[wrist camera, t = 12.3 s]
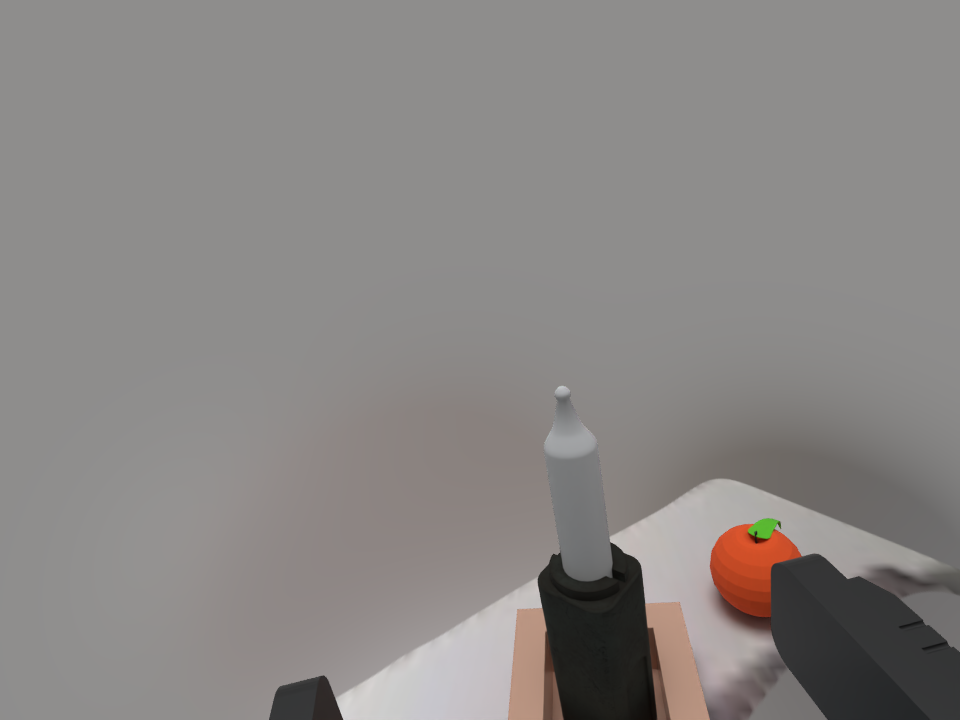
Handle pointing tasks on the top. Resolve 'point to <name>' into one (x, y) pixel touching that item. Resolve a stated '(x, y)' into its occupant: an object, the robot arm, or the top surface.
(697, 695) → the holder block
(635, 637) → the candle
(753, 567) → the clementine
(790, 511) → the top surface
